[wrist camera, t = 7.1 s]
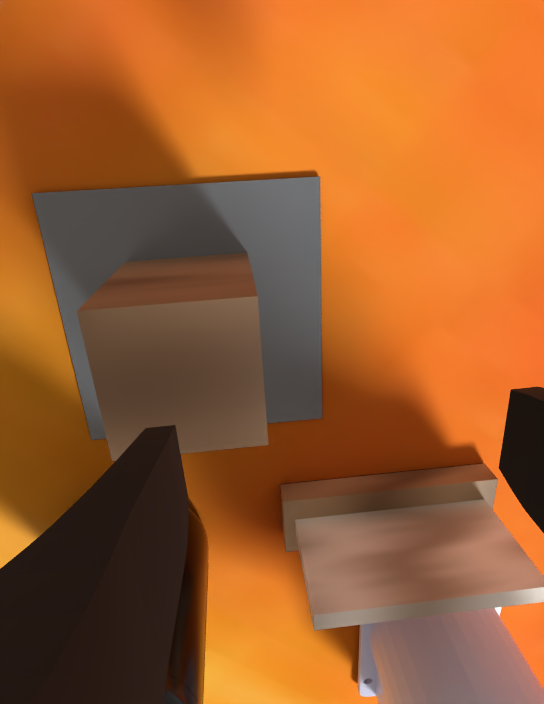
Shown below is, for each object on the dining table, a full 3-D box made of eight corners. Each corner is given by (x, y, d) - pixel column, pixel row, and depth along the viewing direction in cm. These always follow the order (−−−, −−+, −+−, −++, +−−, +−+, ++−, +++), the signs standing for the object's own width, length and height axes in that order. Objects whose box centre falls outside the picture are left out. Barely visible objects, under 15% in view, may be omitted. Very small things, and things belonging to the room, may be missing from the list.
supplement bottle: (32, 535, 21) (-171, 932, 10) (143, 457, 20) (45, 807, 9) (135, 611, 24) (58, 995, 13) (238, 544, 23) (250, 903, 12)
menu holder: (484, 463, 22) (569, 562, 17) (476, 511, 23) (553, 619, 18) (280, 484, 22) (299, 595, 16) (282, 532, 23) (301, 652, 17)
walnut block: (256, 361, 19) (268, 445, 13) (145, 372, 19) (112, 461, 13) (247, 252, 17) (257, 296, 12) (125, 261, 17) (76, 311, 11)
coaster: (321, 416, 20) (322, 418, 20) (92, 437, 20) (91, 439, 20) (319, 176, 16) (320, 176, 16) (33, 193, 16) (31, 193, 16)
